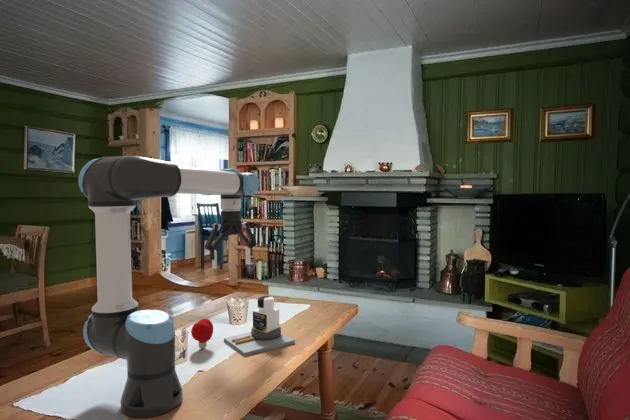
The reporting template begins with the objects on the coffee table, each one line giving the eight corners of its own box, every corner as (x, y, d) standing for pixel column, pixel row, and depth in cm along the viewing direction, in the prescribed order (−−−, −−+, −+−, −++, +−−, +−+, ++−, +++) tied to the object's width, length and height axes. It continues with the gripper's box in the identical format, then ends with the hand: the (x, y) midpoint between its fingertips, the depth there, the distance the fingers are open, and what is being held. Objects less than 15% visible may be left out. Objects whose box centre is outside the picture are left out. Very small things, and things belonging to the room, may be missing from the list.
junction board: (244, 356, 140) (244, 349, 140) (224, 341, 154) (223, 335, 154) (294, 343, 151) (294, 337, 151) (271, 330, 165) (271, 324, 165)
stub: (259, 342, 149) (259, 335, 149) (246, 334, 158) (246, 327, 158) (286, 336, 155) (286, 329, 155) (271, 328, 164) (271, 322, 164)
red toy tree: (205, 354, 141) (205, 325, 141) (186, 353, 143) (186, 324, 142) (217, 344, 150) (217, 317, 150) (199, 343, 152) (199, 316, 151)
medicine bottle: (252, 329, 156) (252, 297, 155) (265, 324, 161) (265, 293, 161) (266, 333, 151) (266, 300, 151) (279, 328, 157) (279, 296, 156)
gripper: (202, 211, 147) (203, 271, 148) (265, 209, 161) (265, 264, 162) (194, 210, 153) (195, 268, 154) (256, 208, 167) (256, 261, 168)
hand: (231, 266), depth 158 cm, fingers open, 13 cm apart
